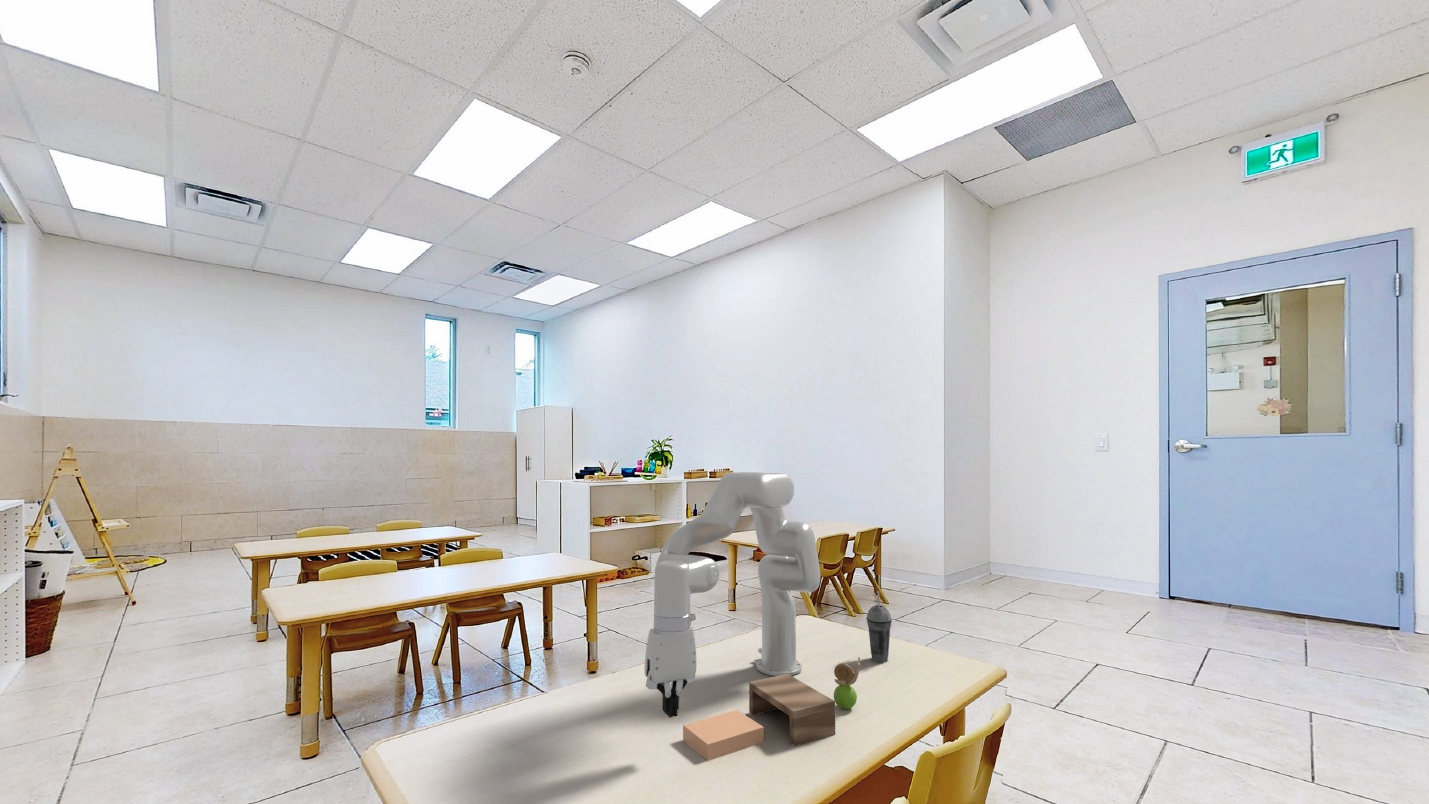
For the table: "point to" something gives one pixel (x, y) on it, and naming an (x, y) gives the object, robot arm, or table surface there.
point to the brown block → (794, 706)
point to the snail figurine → (846, 685)
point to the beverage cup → (879, 632)
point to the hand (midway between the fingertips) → (670, 714)
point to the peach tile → (722, 734)
